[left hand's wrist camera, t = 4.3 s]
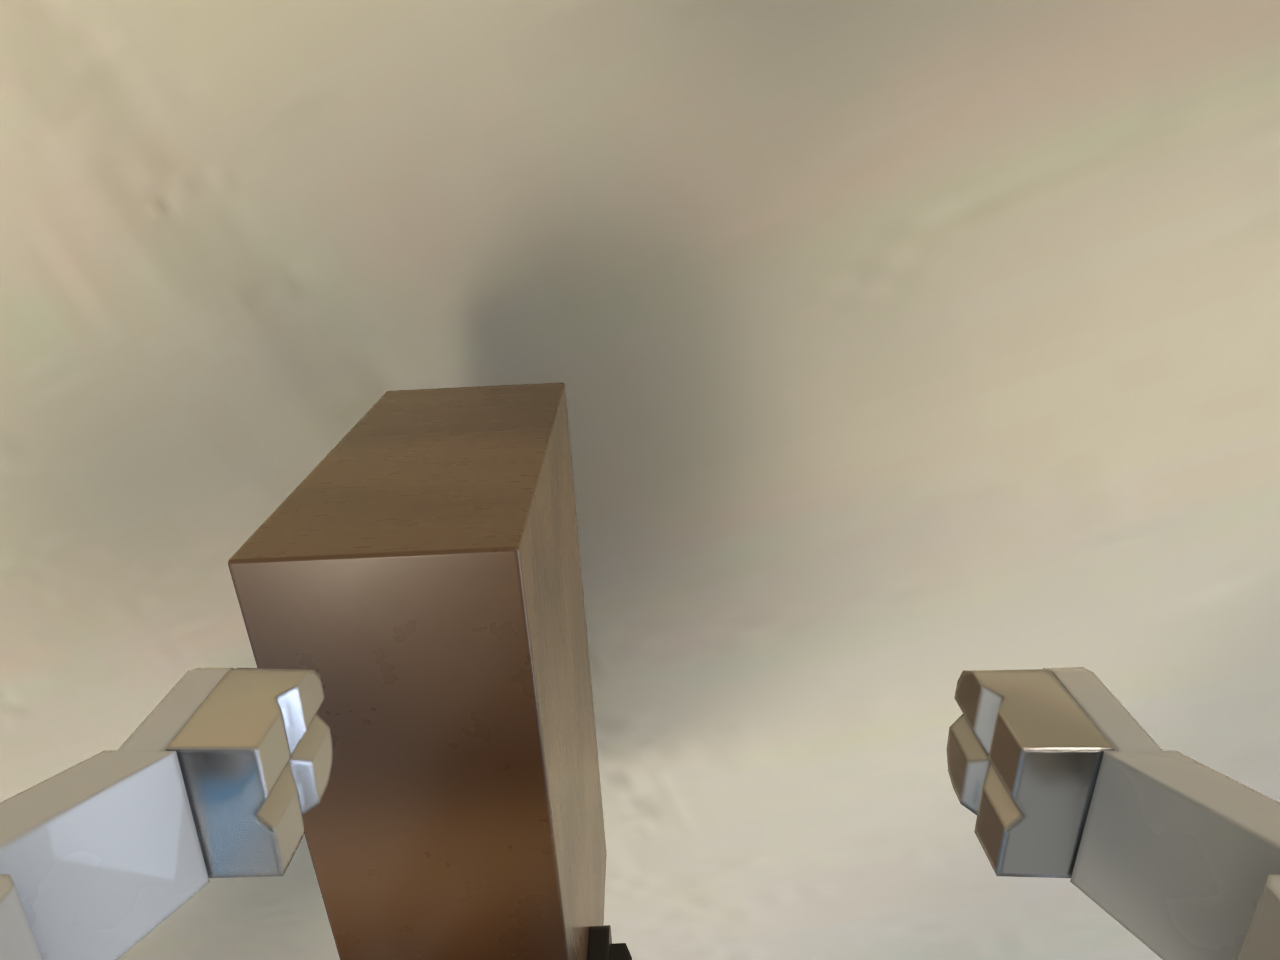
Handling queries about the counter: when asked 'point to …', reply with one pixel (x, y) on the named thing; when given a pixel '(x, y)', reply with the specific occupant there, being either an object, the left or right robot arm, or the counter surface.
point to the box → (443, 676)
